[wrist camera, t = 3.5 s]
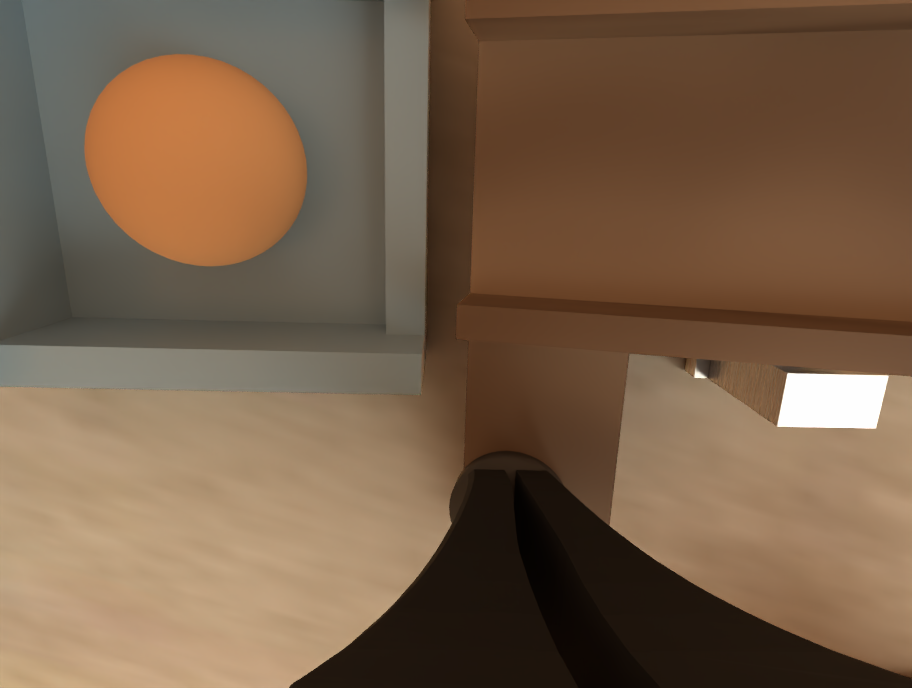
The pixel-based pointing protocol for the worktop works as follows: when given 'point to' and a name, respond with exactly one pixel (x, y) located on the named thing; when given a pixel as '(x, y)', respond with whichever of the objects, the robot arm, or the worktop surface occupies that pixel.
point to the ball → (195, 160)
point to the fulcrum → (799, 392)
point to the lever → (677, 209)
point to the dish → (236, 285)
